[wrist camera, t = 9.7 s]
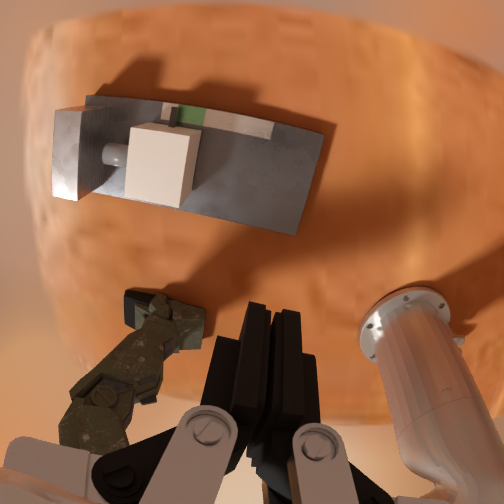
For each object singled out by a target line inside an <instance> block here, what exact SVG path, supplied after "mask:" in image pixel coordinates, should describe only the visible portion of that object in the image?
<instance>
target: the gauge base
mask: <svg viewBox="0 0 504 504" xmlns="http://www.w3.org/2000/svg"><path fill="white" fill-rule="evenodd" d="M173 106H174V107H179V111H178V117H177V123H176V126H178V127H184V128H190V129H196V130H202V132H201V137H200V142H199V148H198V154H197V159H196V165H195V171H194V178H193V184H192V190H191V194H190V195H189V196H188V198H187V199H186V200H185V201H184V202H183V204H182V205H181V206H180V207H179V208H175V207H171V206H166V205H161V204H157V203H152V202H147V201H142V200H137V199H133V198H128V197H124V192H125V178H126V167H120V166H114V165H108V164H104V163H103V161H102V153H103V149H104V147H105V145H106V144H107V143H117V144H124V145H129V138H130V130H131V127H134V126H137V125H141V124H145V123H148V122H151V123H158V124H165V125H169V119H170V113H171V108H172V107H173ZM324 137H325V135H324V134H323V133H319V132H316V131H312V130H309V129H305V128H301V127H297V126H293V125H289V124H285V123H281V122H277V121H273V120H268V119H264V118H259V117H255V116H250V115H245V114H241V113H235V112H230V111H225V110H220V109H214V108H208V107H202V106H196V105H189V104H183V103H175V102H168V101H160V100H151V99H142V98H132V97H120V96H106V95H86V101H85V105H83V106H77V107H71V108H65V109H59V110H55V118H54V132H53V155H52V195H53V196H55V197H60V198H65V199H69V200H74V201H78V200H80V199H81V198H83V197H84V196H86V195H87V194H89V193H91V192H96V193H101V194H106V195H111V196H116V197H121V198H126V199H130V200H135V201H140V202H145V203H150V204H154V205H159V206H164V207H168V208H173V209H178V210H182V211H187V212H191V213H196V214H201V215H205V216H210V217H214V218H218V219H223V220H227V221H232V222H236V223H241V224H245V225H249V226H254V227H258V228H262V229H266V230H271V231H275V232H279V233H283V234H288V235H292V236H296V233H297V230H298V227H299V224H300V220H301V217H302V214H303V210H304V207H305V203H306V200H307V197H308V193H309V190H310V186H311V183H312V179H313V176H314V172H315V169H316V165H317V162H318V158H319V155H320V151H321V148H322V144H323V140H324Z"/></svg>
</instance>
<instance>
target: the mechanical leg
mask: <svg viewBox="0 0 504 504" xmlns="http://www.w3.org/2000/svg"><path fill="white" fill-rule="evenodd" d="M205 317H206V309H203V308H199V307H195V306H191V305H187V304H183V303H181V301H176V300H170V301H169V300H168V298H167V296H166V295H163V294H160V293H158V294H157V295H153V294H147V293H142V292H136V291H130V290H125V294H124V319H125V324H126V325H128V326H129V327H131V328H133V329H135V330H136V331H134V332H132V333H130V334H129V335H128V336H127V337H126V338H125V339H124V340H123V341H122V342H120V343H119V344H118V345H117V346H116V347H115V348H114V349H113V350H112V351H111V352H110V353H109V354H108V355H107V356H106V357H105V358H104V359H103V360H102V361H101V362H100V363H99V364H98V365H97V366H96V367H95V368H94V369H93V370H91V371H90V372H89V373H88V374H86V375H85V376H84V377H83V378H81V379H80V380H79V381H78V382H77V383H76V384H75V386H74V387H73V388H72V389H71V390H70V391H69V392H70V396H71V400H72V403H71V405H70V406H69V408H68V410H67V411H66V413H65V415H64V416H63V418H62V420H61V421H60V423H59V425H58V428H59V442H60V445H62V446H66V447H71V448H76V449H81V450H86V451H89V453H90V454H96V455H102V456H104V455H105V454H108V453H111V452H113V451H116V450H119V449H122V448H124V447H127V446H130V445H129V442H128V438H127V435H126V432H125V430H126V428H127V427H128V425H129V424H130V422H131V419H132V413H133V408H134V404H136V403H138V402H140V403H141V404H142V405H146V404H151V403H156V402H157V399H156V395H158V392H159V389H160V386H161V383H162V381H163V362H164V361H165V360H166V359H167V358H168V357H169V356H170V355H171V354H172V353H179V350H192V349H201V343H202V337H203V331H204V325H205Z"/></svg>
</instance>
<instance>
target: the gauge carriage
mask: <svg viewBox="0 0 504 504" xmlns="http://www.w3.org/2000/svg"><path fill="white" fill-rule="evenodd" d="M178 111H179V107H174V106H173V107H172V108H171V113H170V119H169V125H165V124H158V123H151V122H148V123H145V124H141V125H137V126H134V127H131V130H130V138H129V145H124V144H117V143H107V144H106V145H105V147H104V149H103V153H102V161H103V163H104V164H108V165H114V166H120V167H126V178H125V192H124V197H128V198H133V199H137V200H142V201H147V202H152V203H157V204H161V205H166V206H171V207H175V208H179V207H180V206H181V205H182V204H183V202H184V201H185V200H186V199H187V198H188V196H189V195H190V194H191V190H192V184H193V178H194V171H195V165H196V159H197V154H198V148H199V142H200V137H201V132H202V130H196V129H190V128H184V127H178V126H176V123H177V117H178Z"/></svg>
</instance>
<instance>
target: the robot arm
mask: <svg viewBox="0 0 504 504" xmlns="http://www.w3.org/2000/svg"><path fill="white" fill-rule="evenodd" d="M450 317H451V314H450V308H449V306H448V303H447V302H446V300H445V299H444V297H443V296H442V295H441V294H440V293H439V292H437V291H435V290H433V289H431V288H427V287H410V288H405V289H402V290H399V291H396V292H394V293H392V294H390V295H388V296H386V297H385V298H383V299H382V300H380V301H379V302H378V303H377V304H376V305H375V306H373V307H372V309H371V310H370V311H369V312H368V313H367V315H366V316H365V318H364V320H363V321H362V324H361V326H360V329H359V343H360V347H361V350H362V352H363V354H364V355H365V356H366V357H367V358H368V359H369V360H370V361H372V362H374V363H376V364H378V366H379V370H380V374H381V377H382V381H383V385H384V389H385V393H386V397H387V401H388V405H389V409H390V413H391V417H392V422H393V426H394V430H395V435H396V440H397V444H398V447H399V453H400V456H401V459H402V461H403V463H404V464H405V466H406V467H407V468H408V469H409V470H410V471H411V472H413V473H414V474H416V475H418V476H420V477H422V478H424V479H427V480H429V481H431V482H433V483H434V485H435V489H433V490H432V491H431V492H430V493H428V494H425V495H424V496H421V497H419V498H413V497H404V496H398V497H396V498H394V497H391V496H390V495H388V493H386V492H385V491H384V490H383V489H382V488H380V487H379V486H378V485H377V484H375V483H374V482H373V481H372V480H370V479H369V478H368V477H367V476H366V475H364V474H363V473H362V472H361V471H360V470H358V469H357V468H356V467H355V466H354V465H352V464H351V463H350V462H349V461H348V458H347V454H346V450H345V446H344V443H343V441H342V438H341V436H340V435H339V434H338V433H337V432H336V431H335V430H334V429H333V428H331V427H330V426H327V425H324V424H321V421H320V406H319V392H318V380H317V368H316V359H315V356H314V355H311V354H305V353H302V334H301V317H300V312H296V311H291V310H287V309H283V310H282V312H281V313H279V312H276V313H275V315H274V318H273V321H272V324H271V311H270V310H266V305H264V304H259V303H254V302H250V301H249V303H248V307H247V310H246V314H245V318H244V322H243V325H242V329H241V333H240V336H239V340H235V339H231V338H226V337H222V336H218V335H217V339H216V343H215V347H214V351H213V355H212V359H211V363H210V367H209V371H208V375H207V379H206V383H205V387H204V391H203V395H202V399H201V403H200V406H197V407H193V408H191V409H190V410H188V411H187V412H185V414H184V415H183V416H182V418H181V420H180V422H179V424H178V426H176V427H174V428H171V429H169V430H167V431H165V432H162V433H160V434H157V435H155V436H153V437H150V438H147V439H145V440H143V441H140V442H137V443H135V444H132V445H130V446H127V447H124V448H122V449H119V450H116V451H113V452H111V453H108V454H105V455H104V456H102V455H96V454H90V453H89V451H86V450H81V449H76V448H71V447H66V446H62V445H57V444H53V443H49V442H45V441H42V440H38V439H34V438H31V437H19V438H15V439H14V440H13V441H12V442H10V444H9V446H8V448H7V452H6V456H5V460H4V464H3V467H0V504H214V502H215V499H216V496H217V494H218V491H219V488H220V485H221V482H222V479H223V477H224V476H225V475H226V474H228V473H230V472H231V471H233V470H235V468H236V466H237V464H238V462H239V460H240V458H241V456H242V454H243V452H244V450H245V448H246V446H247V453H246V456H247V457H249V458H252V464H251V466H252V467H256V474H257V475H258V476H259V477H260V478H261V479H262V491H263V500H264V504H504V445H503V443H502V441H501V438H500V436H499V434H498V431H497V430H496V427H495V425H494V423H493V420H492V418H491V416H490V413H489V411H488V409H487V407H486V404H485V402H484V400H483V398H482V395H481V393H480V391H479V389H478V387H477V385H476V382H475V380H474V378H473V376H472V374H471V372H470V370H469V368H468V366H467V364H466V362H465V360H464V358H463V356H462V350H461V349H460V348H458V346H457V345H463V344H464V342H465V337H464V336H463V335H454V333H453V331H452V330H451V328H450V326H449V324H450ZM270 326H271V327H270Z"/></svg>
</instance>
